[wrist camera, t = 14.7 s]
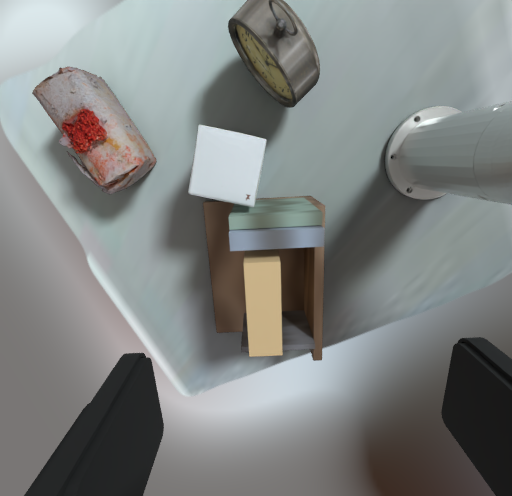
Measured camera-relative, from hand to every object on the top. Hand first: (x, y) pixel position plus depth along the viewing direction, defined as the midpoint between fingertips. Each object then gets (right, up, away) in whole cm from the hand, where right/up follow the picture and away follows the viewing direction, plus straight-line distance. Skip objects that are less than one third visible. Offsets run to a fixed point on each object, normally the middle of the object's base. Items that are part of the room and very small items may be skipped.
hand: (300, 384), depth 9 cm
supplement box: (-4, +16, +33) cm, 37 cm away
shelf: (-1, +1, +38) cm, 38 cm away
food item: (-21, +20, +32) cm, 43 cm away
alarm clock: (+1, +28, +29) cm, 41 cm away
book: (0, +1, +36) cm, 36 cm away
